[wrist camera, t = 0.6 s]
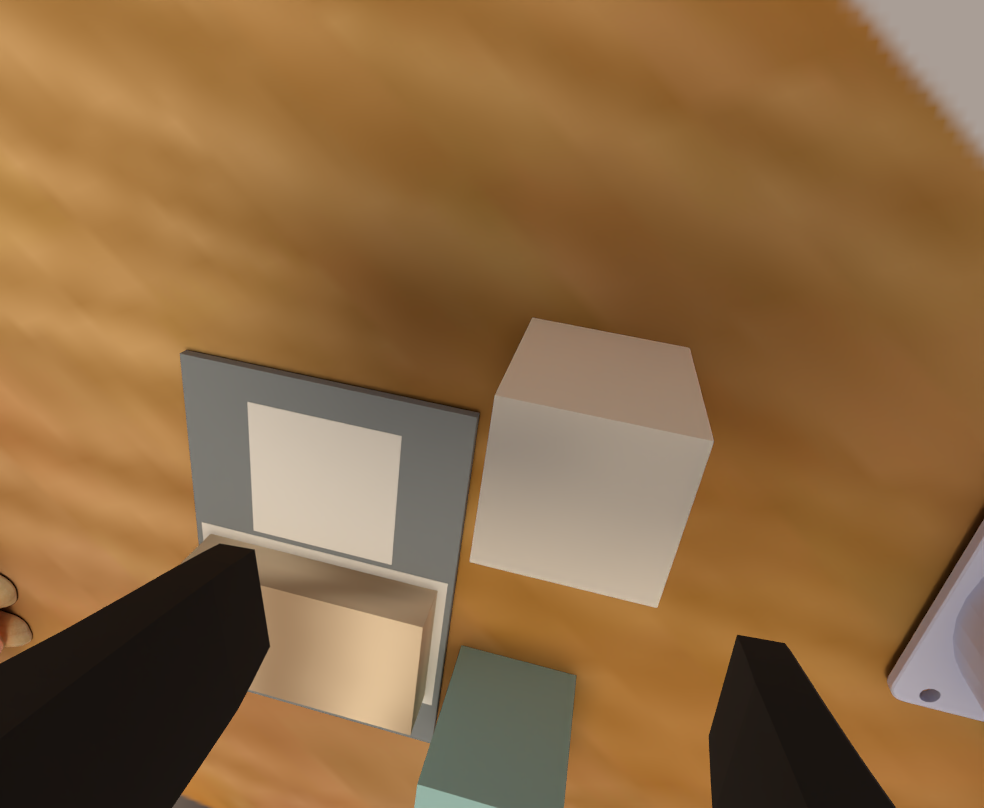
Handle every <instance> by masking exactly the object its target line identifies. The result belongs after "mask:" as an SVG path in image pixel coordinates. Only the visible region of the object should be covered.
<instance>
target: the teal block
mask: <svg viewBox="0 0 984 808" xmlns="http://www.w3.org/2000/svg"><path fill="white" fill-rule="evenodd" d="M575 685H576V675H573V674H569V673H565V672H561V671H558V670H554V669H550V668H546V667H542V666H538V665H535V664H531V663H527V662H523V661H519V660H516V659H512V658H508V657H504V656H500V655H497V654H493V653H489V652H485V651H481V650H478V649H474V648H470V647H466V646H461V649H460V652H459V655H458V658H457V662H456V665H455V668H454V671H453V674H452V677H451V680H450V684H449V687H448V690H447V693H446V696H445V699H444V702H443V705H442V709H441V712H440V715H439V718H438V721H437V724H436V727H435V731H434V734H433V737H432V740H431V743H430V746H429V749H428V753H427V756H426V759H425V762H424V765H423V768H422V771H421V775H420V778H419V781H418V784H417V791H416V799H415V807H414V808H564V799H565V789H566V779H567V768H568V758H569V747H570V737H571V726H572V716H573V706H574V695H575Z"/></svg>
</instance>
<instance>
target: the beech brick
mask: <svg viewBox="0 0 984 808" xmlns="http://www.w3.org/2000/svg"><path fill="white" fill-rule="evenodd" d="M219 543H221V544H226V545H232V546H238V547H243V548H249V549H255V554H256V560H257V567H258V573H259V579H260V585H261V592H262V598H263V604H264V611H265V617H266V623H267V629H268V636H269V642H270V648H269V650H268V652H267V654H266V656H265V658H264V660H263V662H262V664H261V666H260V668H259V670H258V672H257V674H256V676H255V678H254V680H253V682H252V684H251V686H250V688H249V689H248V690H252V691H255V692H259V693H262V694H266V695H269V696H273V697H276V698H280V699H283V700H287V701H290V702H294V703H297V704H301V705H304V706H308V707H312V708H315V709H319V710H322V711H326V712H329V713H333V714H336V715H340V716H343V717H347V718H350V719H354V720H357V721H361V722H364V723H368V724H371V725H375V726H378V727H382V728H386V729H389V730H393V731H396V732H400V733H403V734H407V735H411V733H412V730H413V727H414V724H415V721H416V718H417V716H418V713H419V710H420V707H421V704H422V701H423V699H424V696H425V688H426V680H427V672H428V664H429V656H430V648H431V640H432V632H433V624H434V616H435V608H436V600H437V592H438V591H435V590H431V589H427V588H423V587H419V586H415V585H411V584H408V583H404V582H400V581H396V580H392V579H388V578H384V577H380V576H376V575H372V574H368V573H364V572H360V571H356V570H352V569H348V568H344V567H340V566H336V565H332V564H328V563H324V562H320V561H317V560H313V559H309V558H305V557H301V556H297V555H293V554H289V553H285V552H281V551H277V550H273V549H269V548H265V547H261V546H257V545H253V544H249V543H245V542H241V541H237V540H233V539H229V538H226V537H222V536H218V535H214V534H210V535H209V536H208V537H207V538H206V539H205V540H204V541H203V542H202V543H201V544H200V545H199V546H198V547H197V548H196V549H195V550H194V551H193V552H192V553H191V554H190V555H189V556H188V557H187V558H186V559H185V560H184V561H183V562H182V563H184V562H186V561H187V560H189V559H191V558H193V557H195V556H196V555H198V554H200V553H202V552H204V551H206V550H208V549H210V548H212V547H214V546H216V545H218V544H219ZM182 563H181V564H182Z"/></svg>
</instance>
